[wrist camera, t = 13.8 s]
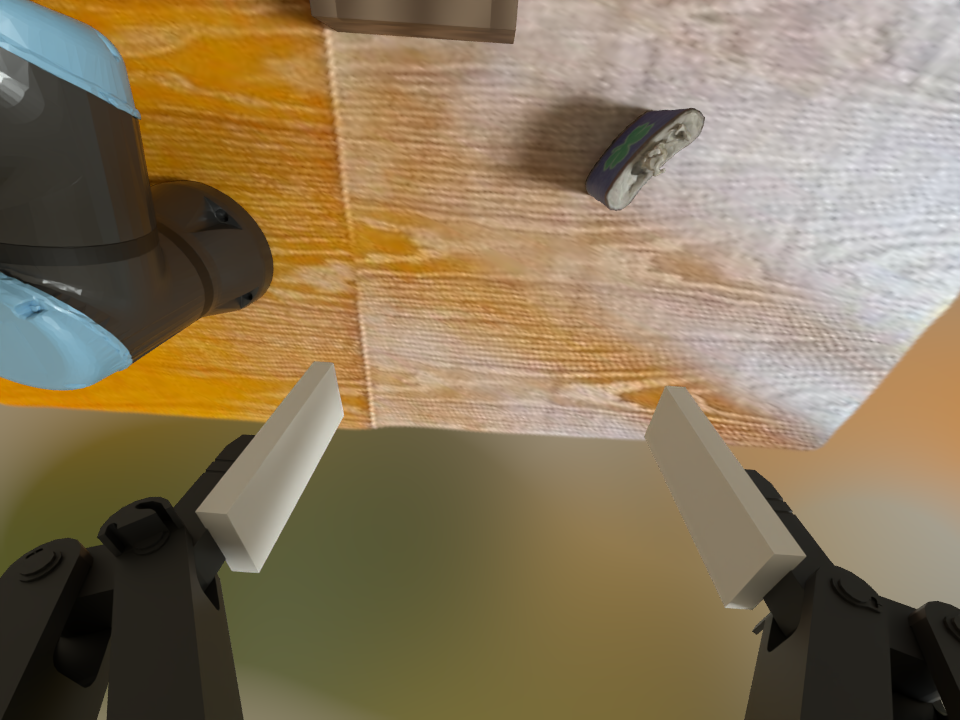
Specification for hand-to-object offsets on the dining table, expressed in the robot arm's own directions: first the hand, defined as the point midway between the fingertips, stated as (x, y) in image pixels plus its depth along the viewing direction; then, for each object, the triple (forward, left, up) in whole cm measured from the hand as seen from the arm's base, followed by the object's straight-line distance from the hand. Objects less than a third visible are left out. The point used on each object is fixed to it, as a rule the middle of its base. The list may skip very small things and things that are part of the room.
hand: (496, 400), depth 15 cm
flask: (+12, +8, -32) cm, 35 cm away
